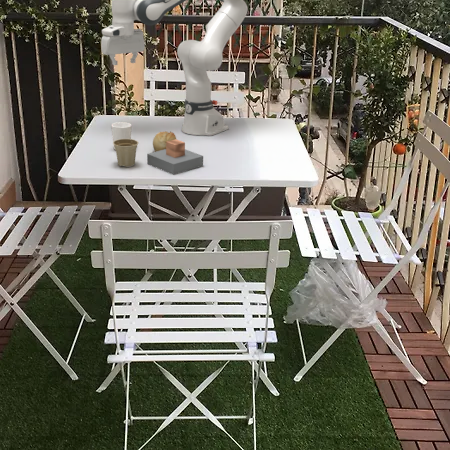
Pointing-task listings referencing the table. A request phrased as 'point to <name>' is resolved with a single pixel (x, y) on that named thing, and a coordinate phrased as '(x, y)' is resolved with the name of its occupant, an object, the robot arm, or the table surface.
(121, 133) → the white cup
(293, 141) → the table surface
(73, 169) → the table surface
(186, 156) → the plinth
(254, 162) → the table surface
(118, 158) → the flower pot
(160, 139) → the bread roll
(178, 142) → the cube
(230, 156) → the table surface
